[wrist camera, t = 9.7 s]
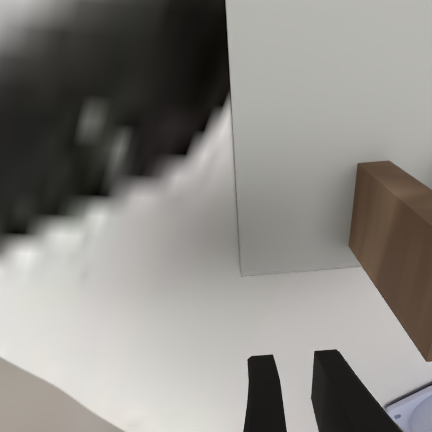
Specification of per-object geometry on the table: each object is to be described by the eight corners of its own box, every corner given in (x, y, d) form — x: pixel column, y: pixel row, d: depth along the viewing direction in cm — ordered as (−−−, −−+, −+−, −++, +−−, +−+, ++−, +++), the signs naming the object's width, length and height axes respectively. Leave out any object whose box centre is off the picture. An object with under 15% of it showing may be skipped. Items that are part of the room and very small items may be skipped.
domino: (389, 160, 18) (510, 244, 11) (376, 244, 20) (469, 358, 13) (357, 163, 18) (457, 248, 11) (348, 246, 20) (426, 361, 13)
